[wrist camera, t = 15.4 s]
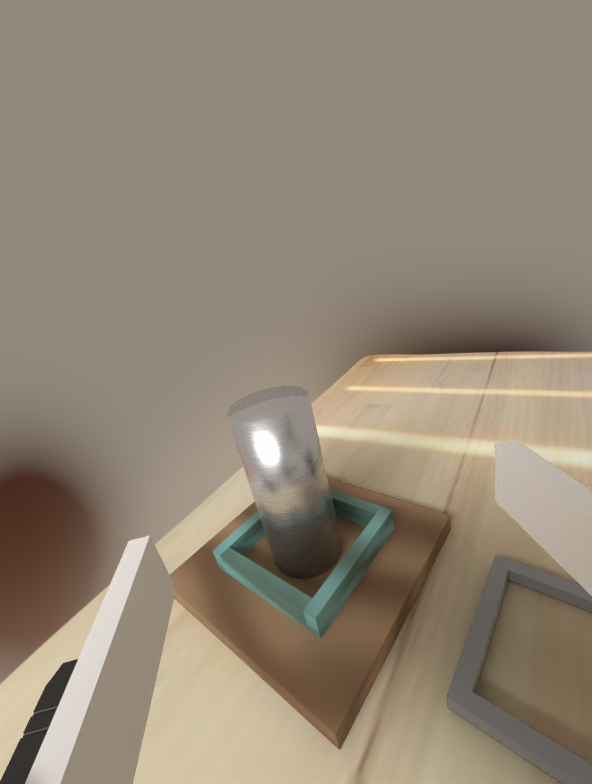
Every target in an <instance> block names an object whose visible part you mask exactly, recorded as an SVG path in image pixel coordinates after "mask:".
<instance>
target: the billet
mask: <svg viewBox="0 0 592 784" xmlns="http://www.w3.org/2000/svg"><path fill="white" fill-rule="evenodd" d="M227 416H228V419H229V423H230V426H231V429H232V432H233V435H234V438H235V441H236V444H237V448H238V451H239V454H240V457H241V460H242V463H243V466H244V469H245V472H246V475H247V478H248V482H249V485H250V488H251V491H252V494H253V497H254V500H255V503H256V506H257V509H258V513H259V516H260V519H261V522H262V525H263V528H264V531H265V534H266V537H267V540H268V544H269V547H270V550H271V553H272V556H273V559H274V562H275V565H276V567H277V568H278V569H279V570H280V571H281V572H282V573H283V574H285V575H286V576H288V577H291V578H296V579H308V578H313V577H316V576H319V575H321V574H323V573H325V572H326V571H328V570H329V569H330V568H331V567H332V566H333V565H334V564H335V563H336V562H337V560H338V559H339V556H340V554H341V550H342V542H341V538H340V533H339V529H338V524H337V519H336V515H335V510H334V506H333V501H332V497H331V492H330V488H329V483H328V479H327V474H326V470H325V465H324V461H323V456H322V452H321V447H320V443H319V438H318V434H317V429H316V425H315V420H314V416H313V411H312V407H311V403H310V398H309V394H308V392H307V390H305V389H303V388H301V387H296V386H280V387H273V388H268V389H265V390H261V391H258V392H255V393H252V394H250V395H248V396H246V397H244V398H242V399H240V400H238V401H237V402H236V403H234V404H233V405H232V406H231V407H230V408H229V410H228V412H227Z"/></svg>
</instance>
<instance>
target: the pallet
mask: <svg viewBox="0 0 592 784" xmlns="http://www.w3.org/2000/svg"><path fill="white" fill-rule="evenodd" d="M327 479H328V483H329V488H330V492H331V497H332V501H333V506H334V510H335V515H336V519H337V524H338V529H339V533H340V538H341V542H342V550H341V554H340V556H339V559H338V560H337V562H336V563H335V564H334V565H333V566H332V567H331V568H330V569H329V570H328V571H326V572H325V573H323V574H321V575H319V576H316V577H313V578H308V579H296V578H291V577H288V576H286V575H285V574H283V573H282V572H281V571H280V570H279V569H278V568H277V567H276V565H275V562H274V559H273V556H272V553H271V550H270V547H269V544H268V540H267V537H266V534H265V531H264V528H263V525H262V522H261V519H260V516H259V513H258V509H257V506H256V503H255V502H254V503H252V504H251V505H250V506H249V507H248V508H247V509H245V510H244V511H243V512H242V513H241V514H240V515H239V516H237V517H236V518H235V519H234V520H233V521H232V522H230V523H229V524H228V525H227V526H226V527H225V528H223V529H222V530H221V531H220V532H219V533H218V534H217V535H215V536H214V537H213V538H212V539H211V540H210V541H208V542H207V543H206V544H205V545H204V546H203V547H201V548H200V549H199V550H198V551H197V552H196V553H195V554H193V555H192V556H191V557H190V558H189V559H188V560H186V561H185V562H184V563H183V564H182V565H181V566H180V567H178V568H177V569H176V570H175V571H174V572H173V573H171V574H170V577H171V580H172V582H173V584H174V586H175V588H176V591H175V596H174V598H175V599H176V600H177V601H178V602H179V603H180V604H182V605H183V606H184V607H185V608H186V609H187V610H188V611H189V612H190V613H191V614H192V615H193V616H195V617H196V618H197V619H198V620H199V621H200V622H201V623H202V624H203V625H204V626H205V627H207V628H208V629H209V630H210V631H211V632H212V633H213V634H214V635H215V636H216V637H217V638H219V639H220V640H221V641H222V642H223V643H224V644H225V645H226V646H227V647H228V648H229V649H231V650H232V651H233V652H234V653H235V654H236V655H237V656H238V657H239V658H240V659H241V660H242V661H244V662H245V663H246V664H247V665H248V666H249V667H250V668H251V669H252V670H253V671H254V672H256V673H257V674H258V675H259V676H260V677H261V678H262V679H263V680H264V681H265V682H266V683H268V684H269V685H270V686H271V687H272V688H273V689H274V690H275V691H276V692H277V693H278V694H279V695H281V696H282V697H283V698H284V699H285V700H286V701H287V702H288V703H289V704H290V705H291V706H293V707H294V708H295V709H296V710H297V711H298V712H299V713H300V714H301V715H302V716H303V717H305V718H306V719H307V720H308V721H309V722H310V723H311V724H312V725H313V726H314V727H315V728H316V729H318V730H319V731H320V732H321V733H322V734H323V735H324V736H325V737H326V738H327V739H328V740H330V741H331V742H332V743H333V744H334V745H335V746H336V747H337V748H338V749H339V750H340V748H341V746H342V744H343V742H344V740H345V738H346V736H347V734H348V732H349V730H350V728H351V726H352V724H353V722H354V720H355V718H356V716H357V714H358V712H359V710H360V708H361V706H362V704H363V702H364V700H365V698H366V696H367V694H368V692H369V690H370V688H371V686H372V684H373V682H374V680H375V678H376V677H377V675H378V673H379V671H380V669H381V667H382V665H383V663H384V661H385V659H386V657H387V655H388V653H389V651H390V649H391V647H392V645H393V643H394V641H395V639H396V637H397V635H398V633H399V631H400V629H401V627H402V625H403V623H404V621H405V619H406V617H407V615H408V613H409V611H410V609H411V607H412V605H413V603H414V601H415V599H416V597H417V595H418V593H419V591H420V589H421V587H422V585H423V583H424V581H425V579H426V577H427V575H428V573H429V571H430V569H431V567H432V565H433V563H434V561H435V559H436V557H437V555H438V553H439V551H440V549H441V547H442V545H443V543H444V541H445V539H446V537H447V535H448V533H449V531H450V529H451V525H450V515H447V514H443V513H440V512H437V511H434V510H431V509H427V508H424V507H421V506H418V505H415V504H412V503H408V502H405V501H402V500H399V499H396V498H392V497H389V496H386V495H383V494H380V493H377V492H373V491H370V490H367V489H364V488H361V487H357V486H354V485H351V484H348V483H345V482H342V481H338V480H335V479H332V478H329V477H327Z"/></svg>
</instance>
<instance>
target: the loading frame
mask: <svg viewBox="0 0 592 784" xmlns="http://www.w3.org/2000/svg"><path fill="white" fill-rule="evenodd" d="M508 580H509V581H512V582H514V583H517V584H520V585H522V586H525V587H527V588H530V589H532V590H535V591H538V592H540V593H543V594H545V595H548V596H550V597H553V598H556V599H558V600H561V601H563V602H566V603H568V604H571V605H574V606H576V607H579V608H581V609H584V610H586V611H589V612H592V596H591V595H590V594H589V593H588V592H587V591H586V590H585V589H584V588H583V587H582V586H581V585H580V584H577V583H574V582H572V581H569V580H566V579H563V578H560V577H558V576H555V575H552V574H549V573H546V572H543V571H541V570H538V569H535V568H532V567H529V566H527V565H524V564H521V563H518V562H515V561H512V560H510V559H507V558H504V557H501V556H498V555H496V557H495V559H494V562H493V565H492V568H491V571H490V574H489V577H488V580H487V583H486V585H485V588H484V591H483V594H482V597H481V600H480V603H479V606H478V609H477V611H476V614H475V617H474V620H473V623H472V626H471V629H470V632H469V635H468V637H467V640H466V643H465V646H464V649H463V652H462V655H461V658H460V661H459V663H458V666H457V669H456V672H455V675H454V678H453V681H452V684H451V687H450V689H449V692H448V695H447V706H448V708H449V709H450V710H452V711H453V712H455V713H456V714H458V715H459V716H461V717H462V718H464V719H465V720H467V721H468V722H470V723H471V724H473V725H475V726H476V727H478V728H479V729H481V730H482V731H484V732H485V733H487V734H488V735H490V736H491V737H493V738H494V739H496V740H497V741H499V742H500V743H502V744H503V745H505V746H506V747H508V748H509V749H511V750H512V751H514V752H515V753H517V754H518V755H520V756H521V757H523V758H524V759H526V760H527V761H529V762H530V763H532V764H533V765H535V766H536V767H538V768H539V769H541V770H542V771H544V772H545V773H547V774H548V775H550V776H551V777H553V778H554V779H556V780H557V781H559V782H560V783H562V784H592V764H591V763H589V762H587V761H586V760H584V759H582V758H581V757H579V756H577V755H576V754H574V753H573V752H571V751H569V750H568V749H566V748H564V747H563V746H561V745H559V744H558V743H556V742H554V741H553V740H551V739H549V738H548V737H546V736H545V735H543V734H541V733H540V732H538V731H536V730H535V729H533V728H531V727H530V726H528V725H526V724H525V723H523V722H521V721H520V720H518V719H517V718H515V717H513V716H512V715H510V714H508V713H507V712H505V711H503V710H502V709H500V708H498V707H497V706H495V705H493V704H492V703H490V702H489V701H487V700H485V699H484V698H482V697H480V696H479V695H477V694H475V690H476V687H477V684H478V680H479V677H480V673H481V670H482V667H483V663H484V660H485V656H486V653H487V650H488V646H489V643H490V639H491V636H492V633H493V629H494V626H495V623H496V619H497V616H498V612H499V609H500V606H501V602H502V599H503V595H504V592H505V589H506V585H507V582H508Z"/></svg>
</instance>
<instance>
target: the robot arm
mask: <svg viewBox="0 0 592 784" xmlns="http://www.w3.org/2000/svg"><path fill="white" fill-rule="evenodd" d="M495 502H496V503H497V504H498V505H499V506H500V507H501V508H502V509H503V510H504V511H505V512H506V513H507V514H508V515H509V516H510V517H511V518H512V519H513V520H514V521H515V522H516V523H518V524H519V525H520V526H521V527H522V528H523V529H524V530H525V531H526V532H527V533H528V534H529V535H530V536H531V537H532V538H533V539H534V540H535V541H536V542H537V543H538V544H539V545H540V546H541V547H542V548H543V549H544V550H545V551H546V552H547V553H548V554H549V555H550V556H551V557H552V558H553V559H554V560H555V561H556V562H557V563H558V564H559V565H560V566H561V567H562V568H563V569H564V570H566V571H567V572H568V573H569V574H570V575H571V576H572V577H573V578H574V579H575V580H576V581H577V582H578V583H579V584H580V585H581V586H582V587H583V588H584V589H585V590H586V591H587V592H588V593H589V594H590V595H591V596H592V490H590V489H589V488H587V487H586V486H584V485H583V484H581V483H580V482H578V481H577V480H575V479H574V478H572V477H571V476H569V475H568V474H566V473H565V472H563V471H562V470H560V469H559V468H557V467H556V466H554V465H553V464H551V463H550V462H548V461H547V460H546V459H544V458H543V457H541V456H540V455H538V454H537V453H535V452H534V451H532V450H531V449H529V448H528V447H526V446H525V445H523V444H522V443H520V442H519V441H517V440H516V439H511V440H508V441H504V442H500V443H496V444H495ZM175 591H176V588H175V586H174V584H173V582H172V580H171V577H170V575H169V573H168V571H167V569H166V567H165V565H164V563H163V561H162V559H161V557H160V555H159V553H158V551H157V549H156V547H155V545H154V543H153V541H152V539H151V537H150V536H146V537H143V538H139V539H135V540H131V541H129V542H128V544H127V547H126V549H125V551H124V554H123V556H122V558H121V561H120V563H119V566H118V568H117V570H116V572H115V575H114V577H113V579H112V582H111V584H110V586H109V589H108V591H107V593H106V596H105V598H104V600H103V603H102V605H101V607H100V610H99V612H98V614H97V617H96V619H95V621H94V624H93V626H92V628H91V631H90V633H89V635H88V638H87V640H86V642H85V645H84V647H83V649H82V652H81V654H80V656H79V659H76V660H73V661H69V662H66V663H63V664H62V665H61V667H60V668H59V669H58V671H57V672H56V673H55V675H54V676H53V677H52V679H51V680H50V681H49V683H48V684H47V685H46V687H45V689H44V691H43V693H42V695H41V697H40V699H39V701H38V703H37V705H36V707H35V710H34V715H33V716H32V717H31V718H30V720H29V722H28V724H27V726H26V728H25V731H24V736H23V738H21V739H20V741H19V743H18V745H17V747H16V749H15V751H14V754H13V756H12V758H11V760H10V762H9V764H8V766H7V768H6V770H5V772H4V774H3V777H2V779H1V781H0V784H133V780H134V776H135V771H136V767H137V762H138V758H139V753H140V749H141V744H142V740H143V735H144V731H145V726H146V722H147V717H148V713H149V708H150V704H151V699H152V695H153V690H154V686H155V681H156V677H157V672H158V668H159V663H160V659H161V654H162V650H163V645H164V641H165V636H166V632H167V627H168V623H169V618H170V614H171V609H172V605H173V600H174V596H175Z"/></svg>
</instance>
